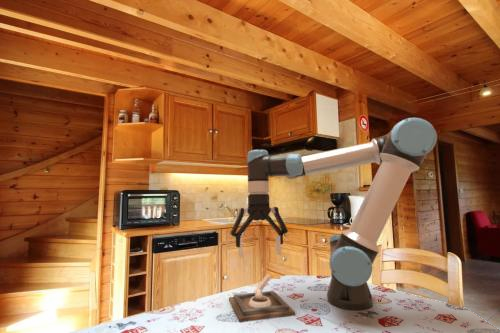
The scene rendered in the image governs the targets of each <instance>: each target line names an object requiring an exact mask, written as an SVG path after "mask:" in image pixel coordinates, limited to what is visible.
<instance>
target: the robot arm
mask: <svg viewBox="0 0 500 333" xmlns="http://www.w3.org/2000/svg"><path fill="white" fill-rule="evenodd" d="M437 140H438V134H437V131H436V129H435V127H434V126H433V124H431V123H430V122H429V121H428V120H426V119H423V118H420V117H408V118H405V119H402V120H401V121H399V122H397V123H396V124H395V125H394V126H393V128H392V129H391V130H390V131H389V132H388V133H387V134H385V135H382V136H379V137H375V138H372V139H371V141H369V142H363V143H360V144H356V145H350V146H345V147H342V148H336V149H331V150H326V151H321V152H316V153H313V154H308V155H303V156H302V155H301V154H300V153H286V154H285V153H283V154H273V155H271V154H269V151H267V150H266V149H252V150H250V151H248V152H247V162H246V165H247V166H246V168H247V193H249V194H248V195H247V208H243V207H239V210H238V215H237V216H236V220H235V222H234V224H233V227H232V228H231V230H230V234H229V235H231V237H234V238H235V246H236V248H238V257H239V258H241V259H242V258H243V257H244V255H243V254H244V251H243V250H244V248H243V247H244V245H243V241H244V240H243V237H242V235H243V233H245V231H246V230H247V228H248V227H249V226H250V224H251V223H253V221H257V222H258V221H266V222H267V223H268V224H269V225H270V226H271V227H272V228H273V230H274V231H275V232H276V234H275V254H277V255H278V256H280V255H282V252H281V251H282V250H281V248H282V246H281V245H283V244H284V239H283V238H284V237H283V236H284V235H285V234H287V233H288V232H289V230H288V228H287V226H286V225H285V224H286V223H285V222H284V220H283V218H282V216H281V215H280V212H279V207H278V206H273V207H271V206H270V194H268V193H269V192H270V185H269V183H270V180H269V179H270V177H285V178H287V179H290V180H293V179H294V180H295V179H298V178H300V177H304V176H309V175H315V174H321V173H324V172H330V171H331V172H332V171H336V170H341V169H347V168H353V167H357V166H362V165H370V164H372V163H373V164H374V163H375V164H377V165H379V167H378V169H377V171H376V173H375V175H374V178H373V180H372V181H371V184H370V186H369V187H368V190H367V192H366V194H365V196H364V198H363V200H362V202H361V204H360V206H359V208H358V211H357V213H356V215H355V216H354V219H353V221H352V223H351V224H350V227H349V228H348V229H346V230H344V231H341V234H339V235H338V234H332V235H331V236H330V237H329V246H330V248H329V249H330V256H329V263H328V264H329V269H330V272H331V274H330V275H331V276H330V277H331V279H330V282H329V286H328V288H327V292H326V297H327V298H326V299H327V301H328V302H329V304H331V305H333V306H335V307H337V308H340V309H345V310H351V311H353V310H354V311H356V310H357V311H359V310H360V311H362V310H367V309H370V308H372V307H373V306H374V305H373V304H374V303H373V301H374V300H373V295H372V293H371V289H370V287H369V285H368V281H369V280H370V279H371V276H372V274H373V269H374V268H373V264H374V263H375V262H374V261H376V258H377V256H378V254H379V252H380V249H379V247H378V244H377V243H378V242H379V239H380V236H381V234H382V233H383V231H384V228H385V226H386V224H387V223H388V220H389V219H390V216H391V214H392V212H393V210H394V209H395V206H396V203H397V202H398V200H399V199H400V196H401V194H402V192H403V189H404V187H405V186H406V183H407V182H408V180H409V177H410V176H411V174H412V173H414V172H416V171H419V170H420V168H421V167H422V164H423V162H424V160H425V158H426V156H427V154H429V153H430V152H431V151H432V150H433V149H434V147H435V146H436V143H437ZM246 213H247V214H248V217H247V218H246V220H245V221H244V222H243V224H242V225H241V223H242V220H243V218H244V215H246ZM270 213H272V214H273V215H274V217H275V220H276V221H277V224H278V225H279V226H278V225H277V224H276V222H275V221H274V220H273V219H272V217H271V216H270ZM240 225H241V226H240ZM239 227H240V228H239Z"/></svg>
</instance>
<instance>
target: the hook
mask: <svg viewBox="0 0 500 333" xmlns="http://www.w3.org/2000/svg"><path fill="white" fill-rule="evenodd" d="M271 279H272V278H271V275H270V274H269V273H267V274H266V275H265V276H264V277H263V279H262V280H261V282H260V283H259V285H258V286H257V287H256V288H255V293H256V294H255V296H254V297H252V298H251V299H250V301H249V306H251V307H253V308H262V307H269V306H271V301H270V299H269V298H268V297H266V296H263V294H262V292H263V290H264V289H265V287H266V285H267V284H268V282H269V281H270V280H271ZM255 300H265V302H255Z"/></svg>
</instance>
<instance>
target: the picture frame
mask: <svg viewBox="0 0 500 333" xmlns="http://www.w3.org/2000/svg"><path fill="white" fill-rule="evenodd" d="M255 294H256V292H250V293H238V294H233V296H229V297H228V301H229V303H230V305H231V307H232V309H233V312H234V314H235V316H236V317H237V320H238V322H239V323H243V322H251V321H258V320H267V319H273V318H276V319H277V318H283V317H291V316H296V311H295V310H294V309H293V308H292V306H290V304H288V303H287V302H286V301H285V300H284V299H283V298H282V297H281V296H280V295H279V294H278V293H277V292H276V291H274V290H268V291H262V294H263V296H266V297H268V298H269V299H270V301H271V306H269V307H262V308H253V307H251V306H249V301H250V299H251V298H252V297H254V296H255ZM255 302H265V300H255Z"/></svg>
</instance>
